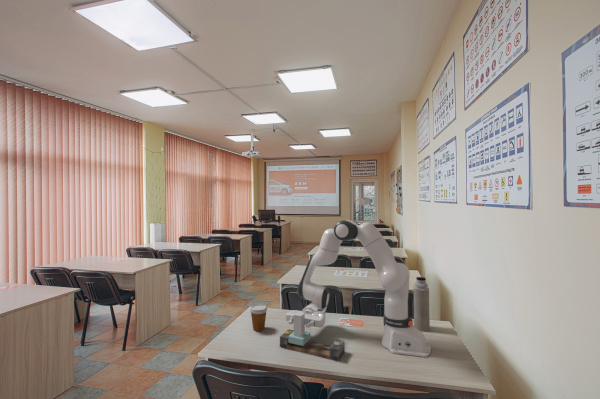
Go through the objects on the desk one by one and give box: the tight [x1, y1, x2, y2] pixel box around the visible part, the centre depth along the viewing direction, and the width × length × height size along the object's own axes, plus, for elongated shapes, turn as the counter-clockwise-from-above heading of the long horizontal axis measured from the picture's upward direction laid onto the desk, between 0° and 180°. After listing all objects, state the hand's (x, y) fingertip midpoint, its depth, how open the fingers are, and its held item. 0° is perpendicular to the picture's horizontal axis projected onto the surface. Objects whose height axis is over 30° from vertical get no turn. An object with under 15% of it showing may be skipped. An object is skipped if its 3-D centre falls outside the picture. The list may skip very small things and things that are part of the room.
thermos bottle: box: [412, 276, 431, 332], centre depth 160 cm, size 8×8×28 cm
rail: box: [279, 328, 346, 362], centre depth 138 cm, size 30×9×6 cm, turn 64°
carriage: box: [288, 312, 311, 346], centre depth 141 cm, size 8×8×13 cm
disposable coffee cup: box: [249, 304, 268, 332], centre depth 162 cm, size 10×10×12 cm
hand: (298, 324), depth 140 cm, fingers open, 8 cm apart
